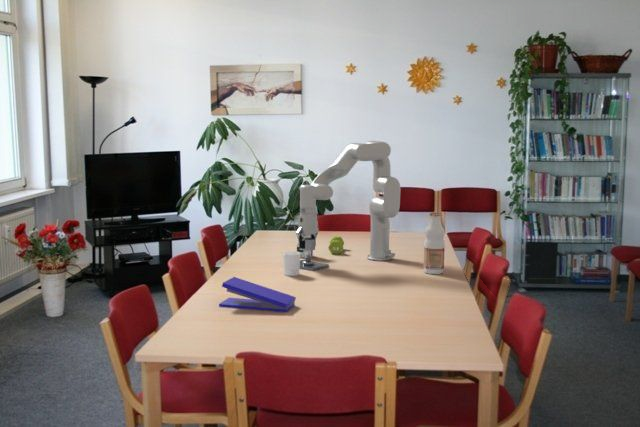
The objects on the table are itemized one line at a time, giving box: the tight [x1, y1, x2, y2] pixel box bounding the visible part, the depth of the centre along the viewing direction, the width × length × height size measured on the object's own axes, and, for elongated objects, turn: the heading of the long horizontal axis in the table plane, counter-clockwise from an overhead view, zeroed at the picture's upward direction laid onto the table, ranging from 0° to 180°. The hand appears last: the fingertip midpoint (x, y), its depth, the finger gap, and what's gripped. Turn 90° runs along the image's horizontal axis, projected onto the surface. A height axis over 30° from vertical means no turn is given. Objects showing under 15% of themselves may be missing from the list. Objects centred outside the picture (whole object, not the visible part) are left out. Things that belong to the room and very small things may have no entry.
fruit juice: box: [423, 212, 446, 275], centre depth 343 cm, size 9×9×28 cm
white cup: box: [282, 251, 301, 277], centre depth 337 cm, size 8×8×10 cm
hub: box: [300, 238, 316, 251], centre depth 354 cm, size 7×7×5 cm
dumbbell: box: [328, 235, 345, 255], centre depth 392 cm, size 16×8×7 cm, turn 176°
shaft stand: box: [299, 251, 330, 272], centre depth 354 cm, size 16×12×11 cm
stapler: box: [218, 276, 297, 313], centre depth 284 cm, size 12×28×10 cm, turn 74°
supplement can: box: [296, 235, 314, 259], centre depth 377 cm, size 8×8×15 cm
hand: (307, 247), depth 354 cm, fingers closed on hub, 7 cm apart
